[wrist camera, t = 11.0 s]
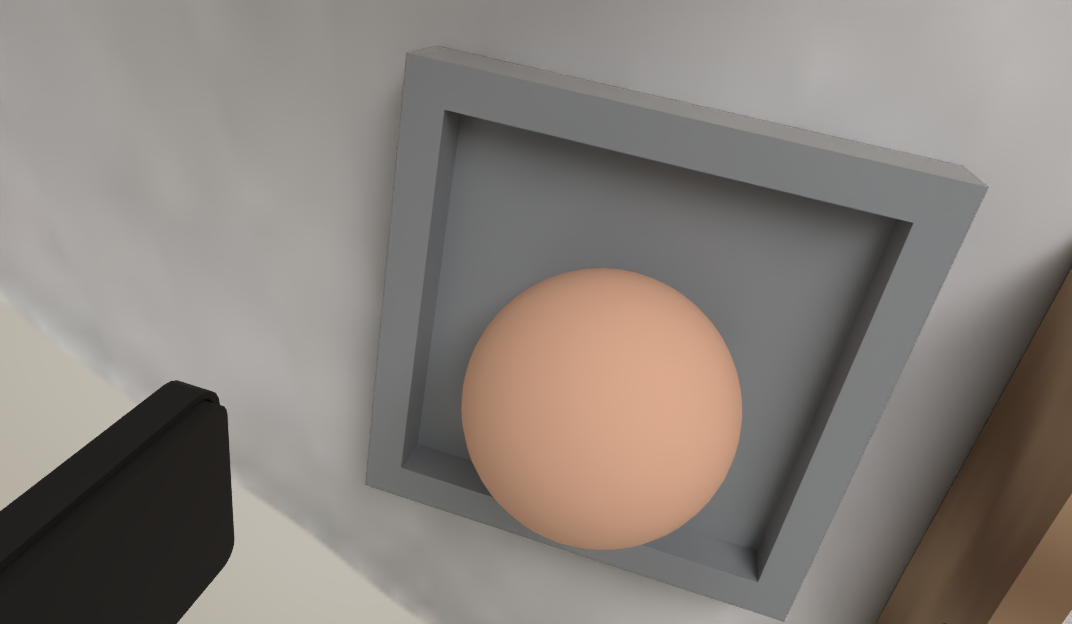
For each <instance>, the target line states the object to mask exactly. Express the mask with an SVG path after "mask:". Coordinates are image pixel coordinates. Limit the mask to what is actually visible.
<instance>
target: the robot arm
mask: <svg viewBox="0 0 1072 624" xmlns="http://www.w3.org/2000/svg"><path fill="white" fill-rule="evenodd" d="M233 546H234V527H233V508H232V489H231V471H230V453H229V435H228V416H227V410H226V409H225V407H224V406H221V405H220V403H219V398H218V396H217V395H216V393H215V392H212V391H209V390H206V389H203V388H200V387H196V386H193V385H190V384H187V383H184V382H181V381H177V380H176V381H170V382H169V383H167V384H165V385H163V386H162V387H161V388H160V389H158V390H157V391H156V392H154V393H153V394H152V395H150V396H149V397H148V398H147V399H145V400H144V401H143V402H141V403H140V404H139V405H138V406H136V407H135V408H134V409H132V410H131V411H130V412H128V413H127V414H126V415H125V416H123V417H122V418H121V419H119V420H118V421H117V422H116V423H114V424H113V425H112V426H110V427H109V428H108V429H107V430H105V431H104V432H103V433H101V434H100V435H99V436H98V437H96V438H95V439H94V440H92V441H91V442H90V443H88V444H87V445H86V446H84V447H83V448H82V449H80V450H79V451H78V452H77V453H75V454H74V455H73V456H71V457H70V458H69V459H67V460H66V461H65V462H64V463H62V464H61V465H60V466H58V467H57V468H56V469H55V470H53V471H52V472H51V473H49V474H48V475H47V476H46V477H44V478H43V479H42V480H40V481H39V482H38V483H36V484H35V485H34V486H33V487H31V488H30V489H29V490H28V491H26V492H25V493H23V494H22V495H21V496H19V497H18V498H17V499H16V500H14V501H13V502H12V503H10V504H9V505H8V506H7V507H5V508H4V509H3V510H1V511H0V624H177V622H178V621H179V620H180V619H181V618H182V617H183V615H184V614H185V613H186V612H187V611H188V609H189V608H190V607H191V606H192V605H193V603H194V602H195V601H196V600H197V599H198V597H199V596H200V595H201V594H202V593H203V591H204V590H205V589H206V588H207V587H208V585H209V584H210V583H211V582H212V581H213V579H214V578H215V577H216V576H217V575H218V573H219V572H220V571H221V570H222V568H223V567H224V566H225V564H226V563H227V561H228V559H229V558H230V555H231V553H232V549H233ZM943 624H946V623H943Z"/></svg>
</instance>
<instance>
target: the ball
mask: <svg viewBox="0 0 1072 624" xmlns="http://www.w3.org/2000/svg"><path fill="white" fill-rule="evenodd" d="M461 411H462V425H463V430H464V435H465V440H466V444H467V449H468V452H469V454H470V457H471V460H472V462H473V464H474V466H475V468H476V470H477V473H478V475H479V476H480V478H481V480H482V482H483V483H484V485H485V487H486V488H487V490H488V491H489V493H490V494H491V495H492V496H493V497H494V499H495V500H496V501H497V502H498V503H499V504H500V505H501V506H502V507H503V508H504V509H505V510H506V511H507V512H508V513H509V514H510V515H511V516H512V517H514V518H515V519H516V520H517V521H519V522H520V523H521V524H523V525H524V526H526V527H527V528H529V529H530V530H532V531H534V532H535V533H537V534H539V535H541V536H543V537H545V538H547V539H550V540H553V541H555V542H558V543H561V544H564V545H568V546H572V547H577V548H583V549H594V550H617V549H624V548H631V547H635V546H639V545H642V544H646V543H648V542H651V541H654V540H656V539H658V538H661V537H663V536H666V535H668V534H669V533H671V532H673V531H675V530H676V529H678V528H680V527H681V526H682V525H683V524H685V523H686V522H687V521H689V520H690V519H691V518H692V517H694V516H695V515H696V514H697V513H699V512H700V511H701V509H702V508H703V507H704V506H705V505H706V504H707V503H708V502H709V501H710V500H711V498H712V497H713V496H714V494H715V493H716V491H717V490H718V489H719V487H720V486H721V484H722V483H723V481H724V479H725V477H726V475H727V473H728V471H729V469H730V467H731V464H732V462H733V459H734V457H735V454H736V450H737V447H738V443H739V438H740V431H741V423H742V397H741V389H740V384H739V378H738V373H737V371H736V368H735V365H734V362H733V359H732V357H731V354H730V352H729V350H728V348H727V346H726V344H725V342H724V340H723V338H722V336H721V335H720V333H719V332H718V330H717V329H716V328H715V326H714V325H713V323H712V322H711V321H710V320H709V319H708V318H707V317H706V315H705V314H704V313H703V312H702V311H701V310H700V309H699V308H698V307H697V306H696V305H695V304H694V303H692V302H691V301H690V300H689V299H688V298H686V297H685V296H684V295H683V294H681V293H680V292H678V291H676V290H675V289H673V288H672V287H670V286H669V285H666V284H664V283H662V282H660V281H658V280H656V279H654V278H651V277H648V276H645V275H642V274H639V273H636V272H631V271H626V270H621V269H610V268H592V269H582V270H576V271H570V272H565V273H562V274H559V275H556V276H552V277H550V278H547V279H545V280H543V281H541V282H539V283H537V284H535V285H533V286H531V287H529V288H528V289H526V290H525V291H523V292H522V293H520V294H519V295H517V296H516V297H515V298H514V299H512V300H511V301H510V302H509V303H508V304H507V305H506V306H505V307H503V308H502V310H501V311H500V312H499V313H498V314H497V315H496V316H495V317H494V318H493V320H492V321H491V322H490V323H489V324H488V326H487V327H486V329H485V331H484V332H483V334H482V336H481V337H480V339H479V341H478V343H477V344H476V346H475V348H474V351H473V353H472V356H471V358H470V361H469V364H468V367H467V371H466V375H465V379H464V383H463V392H462V408H461Z"/></svg>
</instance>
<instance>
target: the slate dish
mask: <svg viewBox="0 0 1072 624" xmlns="http://www.w3.org/2000/svg"><path fill="white" fill-rule="evenodd" d="M987 189H988V186H987V185H985V184H984V183H983V182H982V181H981V180H979V179H978V178H977V177H976V176H975V175H974V174H972V173H971V172H970V171H969V170H968V169H966V168H965V167H964V166H961V165H956V164H952V163H947V162H943V161H939V160H934V159H930V158H926V157H921V156H917V155H912V154H908V153H904V152H899V151H895V150H891V149H886V148H882V147H877V146H873V145H869V144H864V143H860V142H855V141H851V140H847V139H842V138H838V137H834V136H829V135H825V134H820V133H816V132H812V131H807V130H803V129H798V128H794V127H790V126H785V125H781V124H777V123H772V122H768V121H763V120H759V119H755V118H750V117H746V116H741V115H737V114H733V113H728V112H724V111H720V110H715V109H711V108H706V107H702V106H698V105H693V104H689V103H684V102H680V101H676V100H671V99H667V98H663V97H658V96H654V95H649V94H645V93H641V92H636V91H632V90H627V89H623V88H619V87H614V86H610V85H606V84H601V83H597V82H592V81H588V80H584V79H579V78H575V77H570V76H566V75H562V74H557V73H553V72H549V71H544V70H540V69H535V68H531V67H527V66H522V65H518V64H513V63H509V62H505V61H500V60H496V59H492V58H487V57H483V56H478V55H474V54H470V53H465V52H461V51H457V50H452V49H448V48H443V47H439V46H435V47H431V48H426V49H421V50H417V51H412V52H407V53H406V63H405V74H404V84H403V95H402V105H401V116H400V126H399V137H398V147H397V158H396V169H395V179H394V190H393V200H392V211H391V221H390V232H389V242H388V253H387V263H386V274H385V284H384V295H383V305H382V316H381V326H380V337H379V347H378V358H377V368H376V379H375V389H374V400H373V410H372V421H371V431H370V442H369V452H368V463H367V473H366V484H365V485H368V486H371V487H374V488H377V489H380V490H383V491H386V492H389V493H392V494H395V495H398V496H401V497H404V498H407V499H410V500H413V501H417V502H420V503H423V504H426V505H429V506H432V507H435V508H438V509H441V510H444V511H447V512H450V513H453V514H456V515H459V516H462V517H465V518H468V519H472V520H475V521H478V522H481V523H484V524H487V525H490V526H493V527H496V528H499V529H502V530H505V531H508V532H511V533H514V534H517V535H520V536H523V537H527V538H530V539H533V540H536V541H539V542H542V543H545V544H548V545H551V546H554V547H557V548H560V549H563V550H566V551H569V552H572V553H575V554H578V555H581V556H585V557H588V558H591V559H594V560H597V561H600V562H603V563H606V564H609V565H612V566H615V567H618V568H621V569H624V570H627V571H630V572H633V573H636V574H640V575H643V576H646V577H649V578H652V579H655V580H658V581H661V582H664V583H667V584H670V585H673V586H676V587H679V588H682V589H685V590H688V591H691V592H695V593H698V594H701V595H704V596H707V597H710V598H713V599H716V600H719V601H722V602H725V603H728V604H731V605H734V606H737V607H740V608H743V609H746V610H750V611H753V612H756V613H759V614H762V615H765V616H768V617H771V618H774V619H777V620H780V621H783V622H784V621H785V619H786V617H787V614H788V612H789V610H790V608H791V606H792V604H793V602H794V600H795V597H796V595H797V593H798V591H799V589H800V587H801V585H802V583H803V580H804V578H805V576H806V574H807V572H808V570H809V568H810V566H811V563H812V561H813V559H814V557H815V555H816V553H817V551H818V549H819V546H820V544H821V542H822V540H823V538H824V536H825V534H826V532H827V529H828V527H829V525H830V523H831V521H832V519H833V517H834V515H835V512H836V510H837V508H838V506H839V504H840V502H841V500H842V498H843V495H844V493H845V491H846V489H847V487H848V485H849V483H850V481H851V478H852V476H853V474H854V472H855V470H856V468H857V466H858V464H859V461H860V459H861V457H862V455H863V453H864V451H865V449H866V447H867V444H868V442H869V440H870V438H871V436H872V434H873V432H874V430H875V427H876V425H877V423H878V421H879V419H880V417H881V415H882V413H883V410H884V408H885V406H886V404H887V402H888V400H889V398H890V396H891V393H892V391H893V389H894V387H895V385H896V383H897V381H898V378H899V376H900V374H901V372H902V370H903V368H904V366H905V364H906V361H907V359H908V357H909V355H910V353H911V351H912V349H913V347H914V344H915V342H916V340H917V338H918V336H919V334H920V332H921V330H922V327H923V325H924V323H925V321H926V319H927V317H928V315H929V313H930V310H931V308H932V306H933V304H934V302H935V300H936V298H937V296H938V293H939V291H940V289H941V287H942V285H943V283H944V281H945V279H946V276H947V274H948V272H949V270H950V268H951V266H952V264H953V262H954V259H955V257H956V255H957V253H958V251H959V249H960V247H961V245H962V242H963V240H964V238H965V236H966V234H967V232H968V230H969V228H970V225H971V223H972V221H973V219H974V217H975V215H976V213H977V211H978V208H979V206H980V204H981V202H982V200H983V198H984V196H985V194H986V191H987ZM592 268H610V269H621V270H626V271H631V272H636V273H639V274H642V275H645V276H648V277H651V278H654V279H656V280H658V281H660V282H662V283H664V284H666V285H669V286H670V287H672V288H673V289H675V290H676V291H678V292H680V293H681V294H683V295H684V296H685V297H686V298H688V299H689V300H690V301H691V302H692V303H694V304H695V305H696V306H697V307H698V308H699V309H700V310H701V311H702V312H703V313H704V314H705V315H706V317H707V318H708V319H709V320H710V321H711V322H712V323H713V325H714V326H715V328H716V329H717V330H718V332H719V333H720V335H721V336H722V338H723V340H724V342H725V344H726V346H727V348H728V350H729V352H730V354H731V357H732V359H733V362H734V365H735V368H736V371H737V373H738V378H739V384H740V389H741V397H742V423H741V431H740V438H739V443H738V447H737V450H736V454H735V457H734V459H733V462H732V464H731V467H730V469H729V471H728V473H727V475H726V477H725V479H724V481H723V483H722V484H721V486H720V487H719V489H718V490H717V491H716V493H715V494H714V496H713V497H712V498H711V500H710V501H709V502H708V503H707V504H706V505H705V506H704V507H703V508H702V509H701V511H700V512H699V513H697V514H696V515H695V516H694V517H692V518H691V519H690V520H689V521H687V522H686V523H685V524H683V525H682V526H681V527H680V528H678V529H676V530H675V531H673V532H671V533H669V534H668V535H666V536H663V537H661V538H658V539H656V540H654V541H651V542H648V543H646V544H642V545H639V546H635V547H631V548H624V549H617V550H594V549H583V548H577V547H572V546H568V545H564V544H561V543H558V542H555V541H553V540H550V539H547V538H545V537H543V536H541V535H539V534H537V533H535V532H534V531H532V530H530V529H529V528H527V527H526V526H524V525H523V524H521V523H520V522H519V521H517V520H516V519H515V518H514V517H512V516H511V515H510V514H509V513H508V512H507V511H506V510H505V509H504V508H503V507H502V506H501V505H500V504H499V503H498V502H497V501H496V500H495V499H494V497H493V496H492V495H491V494H490V493H489V491H488V490H487V488H486V487H485V485H484V483H483V482H482V480H481V478H480V476H479V475H478V473H477V470H476V468H475V466H474V464H473V462H472V460H471V457H470V454H469V452H468V449H467V444H466V440H465V435H464V430H463V425H462V411H461V408H462V392H463V383H464V379H465V375H466V371H467V367H468V364H469V361H470V358H471V356H472V353H473V351H474V348H475V346H476V344H477V343H478V341H479V339H480V337H481V336H482V334H483V332H484V331H485V329H486V327H487V326H488V324H489V323H490V322H491V321H492V320H493V318H494V317H495V316H496V315H497V314H498V313H499V312H500V311H501V310H502V308H503V307H505V306H506V305H507V304H508V303H509V302H510V301H511V300H512V299H514V298H515V297H516V296H517V295H519V294H520V293H522V292H523V291H525V290H526V289H528V288H529V287H531V286H533V285H535V284H537V283H539V282H541V281H543V280H545V279H547V278H550V277H552V276H556V275H559V274H562V273H565V272H570V271H576V270H582V269H592Z"/></svg>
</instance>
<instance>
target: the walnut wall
mask: <svg viewBox="0 0 1072 624" xmlns="http://www.w3.org/2000/svg"><path fill="white" fill-rule="evenodd" d="M1071 610H1072V268H1071V270H1070V272H1069V273H1068V275H1067V277H1066V279H1065V281H1064V283H1063V284H1062V286H1061V288H1060V290H1059V292H1058V293H1057V295H1056V297H1055V299H1054V301H1053V302H1052V304H1051V306H1050V308H1049V310H1048V312H1047V313H1046V315H1045V317H1044V319H1043V321H1042V322H1041V324H1040V326H1039V328H1038V330H1037V332H1036V333H1035V335H1034V337H1033V339H1032V341H1031V342H1030V344H1029V346H1028V348H1027V350H1026V351H1025V353H1024V355H1023V357H1022V359H1021V361H1020V362H1019V364H1018V366H1017V368H1016V370H1015V371H1014V373H1013V375H1012V377H1011V379H1010V381H1009V382H1008V384H1007V386H1006V388H1005V390H1004V391H1003V393H1002V395H1001V397H1000V399H999V400H998V402H997V404H996V406H995V408H994V410H993V411H992V413H991V415H990V417H989V419H988V420H987V422H986V424H985V426H984V428H983V430H982V431H981V433H980V435H979V437H978V439H977V440H976V442H975V444H974V446H973V448H972V449H971V451H970V453H969V455H968V457H967V459H966V460H965V462H964V464H963V466H962V468H961V469H960V471H959V473H958V475H957V477H956V479H955V480H954V482H953V484H952V486H951V488H950V489H949V491H948V493H947V495H946V497H945V499H944V500H943V502H942V504H941V506H940V508H939V509H938V511H937V513H936V515H935V517H934V518H933V520H932V522H931V524H930V526H929V528H928V529H927V531H926V533H925V535H924V537H923V538H922V540H921V542H920V544H919V546H918V548H917V549H916V551H915V553H914V555H913V557H912V558H911V560H910V562H909V564H908V566H907V567H906V569H905V571H904V573H903V575H902V577H901V578H900V580H899V582H898V584H897V586H896V587H895V589H894V591H893V593H892V595H891V597H890V598H889V600H888V602H887V604H886V606H885V607H884V609H883V611H882V613H881V615H880V616H879V618H878V620H877V622H876V624H943V623H946V624H1062V622H1063V621H1064V620H1065V618H1066V617H1067V615H1068V614H1069V613H1070V611H1071Z"/></svg>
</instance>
